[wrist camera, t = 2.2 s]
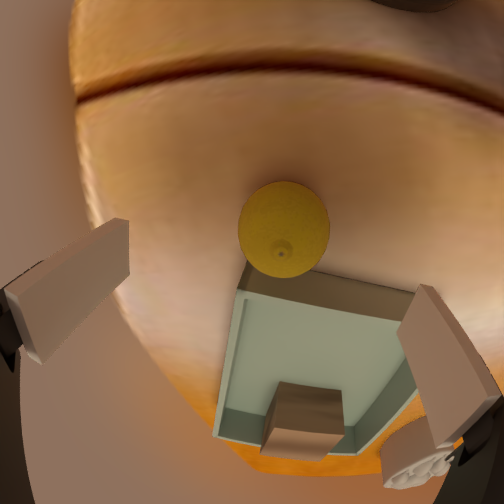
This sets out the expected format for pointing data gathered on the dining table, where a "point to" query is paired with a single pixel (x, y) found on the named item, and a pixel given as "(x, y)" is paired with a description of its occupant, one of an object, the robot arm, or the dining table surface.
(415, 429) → the lumpy-topped squat cylinder
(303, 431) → the walnut block
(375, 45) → the dining table surface
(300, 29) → the dining table surface
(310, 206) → the lemon
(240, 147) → the dining table surface
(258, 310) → the box
